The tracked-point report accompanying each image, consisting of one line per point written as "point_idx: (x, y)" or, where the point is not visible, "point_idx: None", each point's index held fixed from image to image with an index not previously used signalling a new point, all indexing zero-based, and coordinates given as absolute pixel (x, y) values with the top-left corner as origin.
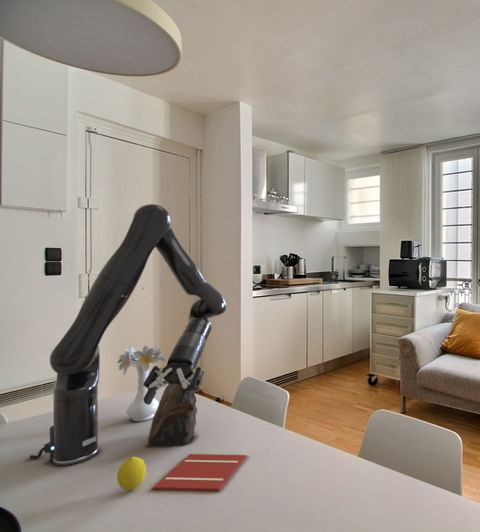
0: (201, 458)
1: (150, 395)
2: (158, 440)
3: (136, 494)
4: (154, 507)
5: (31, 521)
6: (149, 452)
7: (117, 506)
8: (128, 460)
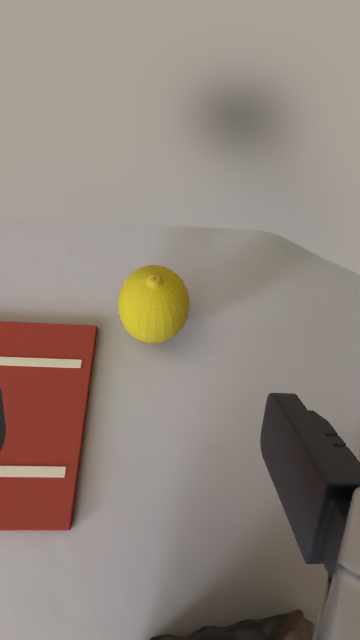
0: (5, 492)
1: (290, 446)
2: (261, 627)
3: None
4: (56, 268)
5: (281, 241)
6: (253, 555)
7: None
8: (159, 274)
